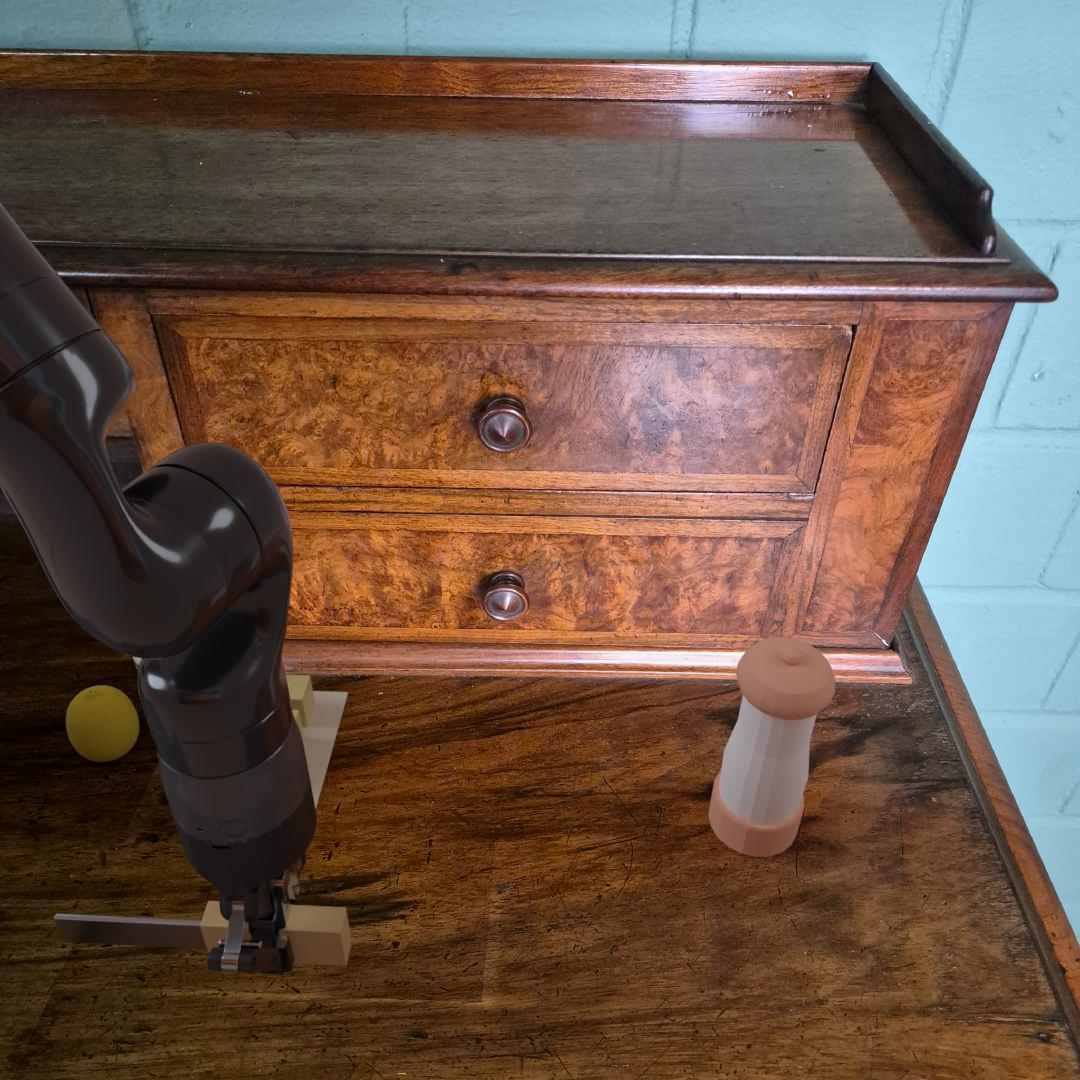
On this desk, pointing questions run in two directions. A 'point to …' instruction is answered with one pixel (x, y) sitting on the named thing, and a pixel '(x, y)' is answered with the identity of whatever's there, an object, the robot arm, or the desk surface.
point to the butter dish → (322, 735)
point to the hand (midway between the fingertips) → (281, 949)
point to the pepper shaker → (770, 746)
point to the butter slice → (301, 696)
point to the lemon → (102, 723)
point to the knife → (217, 932)
